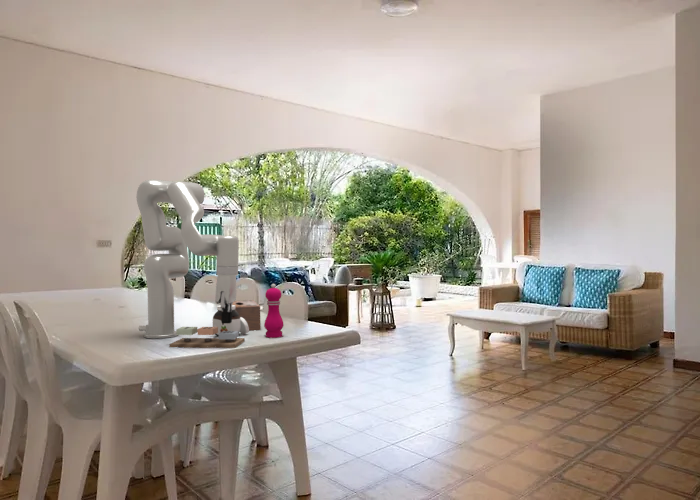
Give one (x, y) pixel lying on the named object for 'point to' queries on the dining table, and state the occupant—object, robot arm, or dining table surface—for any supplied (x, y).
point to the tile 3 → (229, 335)
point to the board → (207, 343)
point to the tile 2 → (207, 330)
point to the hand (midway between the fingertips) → (226, 322)
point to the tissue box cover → (249, 313)
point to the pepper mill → (273, 313)
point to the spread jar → (235, 325)
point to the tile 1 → (186, 330)
